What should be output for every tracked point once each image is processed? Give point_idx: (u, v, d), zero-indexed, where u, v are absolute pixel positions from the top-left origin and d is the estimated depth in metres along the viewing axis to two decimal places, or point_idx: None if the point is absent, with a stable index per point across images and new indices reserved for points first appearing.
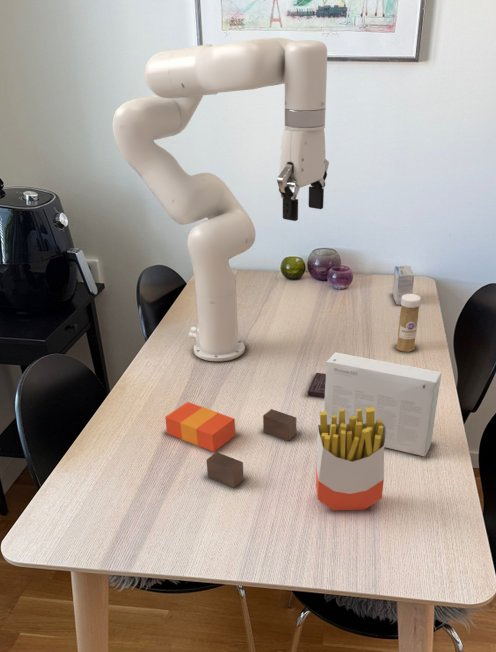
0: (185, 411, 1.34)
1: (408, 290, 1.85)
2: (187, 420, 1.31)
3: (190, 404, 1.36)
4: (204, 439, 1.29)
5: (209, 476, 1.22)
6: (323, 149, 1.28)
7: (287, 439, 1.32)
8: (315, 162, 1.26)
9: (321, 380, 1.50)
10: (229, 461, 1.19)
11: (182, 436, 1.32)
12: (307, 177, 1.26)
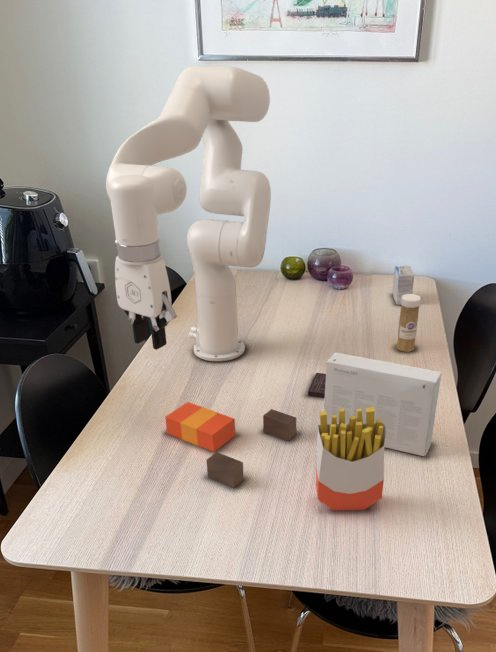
0: (185, 411, 1.34)
1: (408, 290, 1.85)
2: (187, 420, 1.31)
3: (190, 404, 1.36)
4: (204, 439, 1.29)
5: (209, 476, 1.22)
6: None
7: (287, 439, 1.32)
8: None
9: (321, 380, 1.50)
10: (229, 461, 1.19)
11: (182, 436, 1.32)
12: None
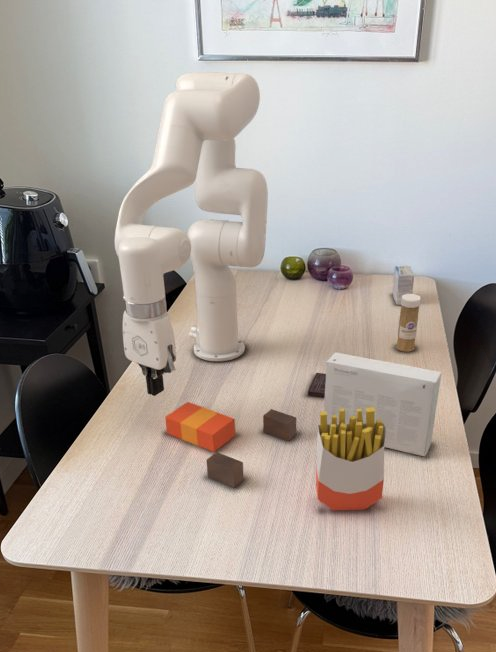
0: (185, 411, 1.34)
1: (408, 290, 1.85)
2: (187, 420, 1.31)
3: (190, 404, 1.36)
4: (204, 439, 1.29)
5: (209, 476, 1.22)
6: None
7: (287, 439, 1.32)
8: None
9: (321, 380, 1.50)
10: (229, 461, 1.19)
11: (182, 436, 1.32)
12: None
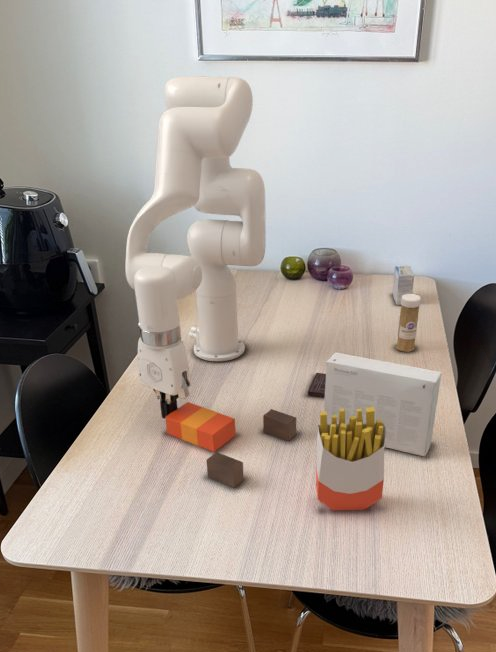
0: (185, 411, 1.34)
1: (408, 290, 1.85)
2: (187, 420, 1.31)
3: (190, 404, 1.36)
4: (204, 439, 1.29)
5: (209, 476, 1.22)
6: None
7: (287, 439, 1.32)
8: None
9: (321, 380, 1.50)
10: (229, 461, 1.19)
11: (182, 436, 1.32)
12: None
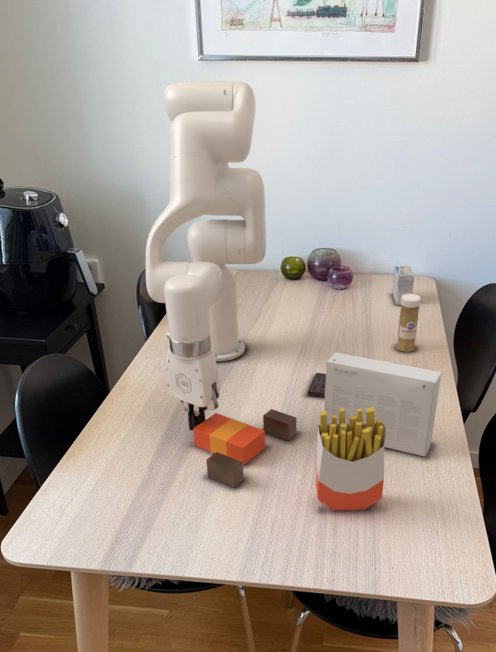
0: (213, 423, 1.30)
1: (408, 290, 1.85)
2: (215, 432, 1.27)
3: (218, 415, 1.32)
4: (234, 452, 1.25)
5: (209, 476, 1.22)
6: None
7: (287, 439, 1.32)
8: None
9: (321, 380, 1.50)
10: (229, 461, 1.19)
11: (211, 448, 1.28)
12: None
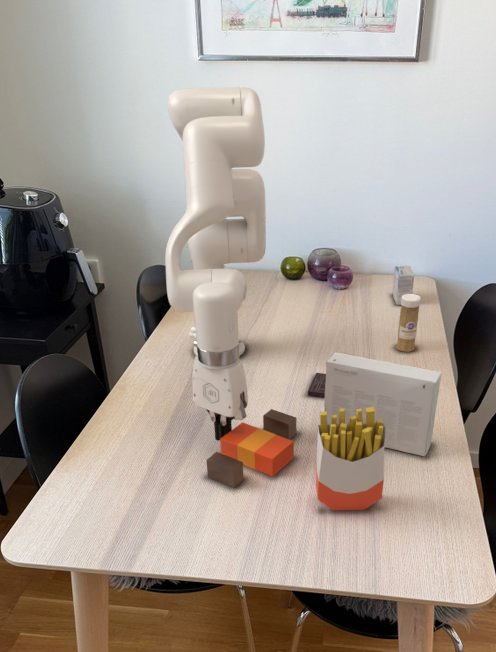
0: (240, 433, 1.27)
1: (408, 290, 1.85)
2: (243, 443, 1.24)
3: (245, 425, 1.29)
4: (262, 463, 1.22)
5: (209, 476, 1.22)
6: None
7: None
8: None
9: (321, 380, 1.50)
10: (229, 461, 1.19)
11: (238, 459, 1.25)
12: None
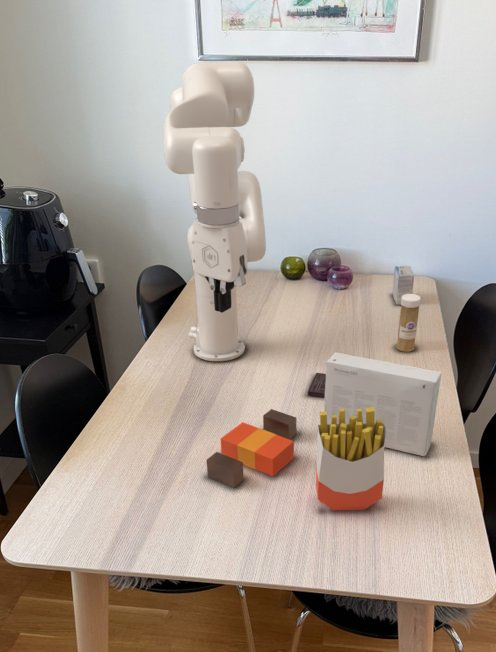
0: (241, 432, 1.27)
1: (408, 290, 1.85)
2: (243, 443, 1.24)
3: (245, 425, 1.29)
4: (262, 463, 1.22)
5: (209, 476, 1.22)
6: None
7: None
8: None
9: (321, 380, 1.50)
10: (229, 461, 1.19)
11: (238, 459, 1.25)
12: None
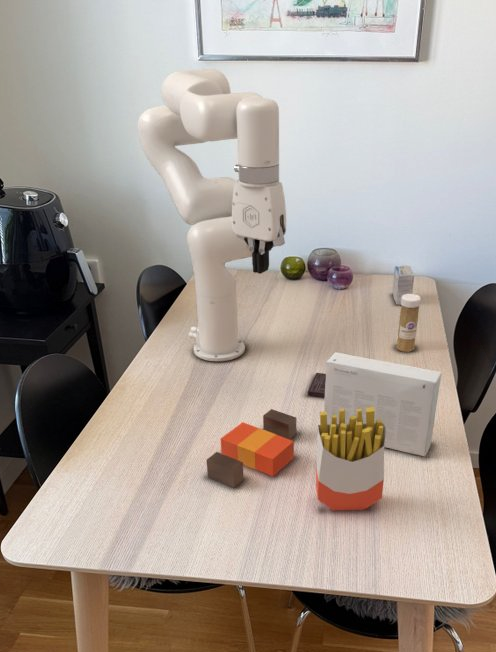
0: (241, 432, 1.27)
1: (408, 290, 1.85)
2: (243, 443, 1.24)
3: (245, 425, 1.29)
4: (262, 463, 1.22)
5: (209, 476, 1.22)
6: None
7: None
8: None
9: (321, 380, 1.50)
10: (229, 461, 1.19)
11: (238, 459, 1.25)
12: None
